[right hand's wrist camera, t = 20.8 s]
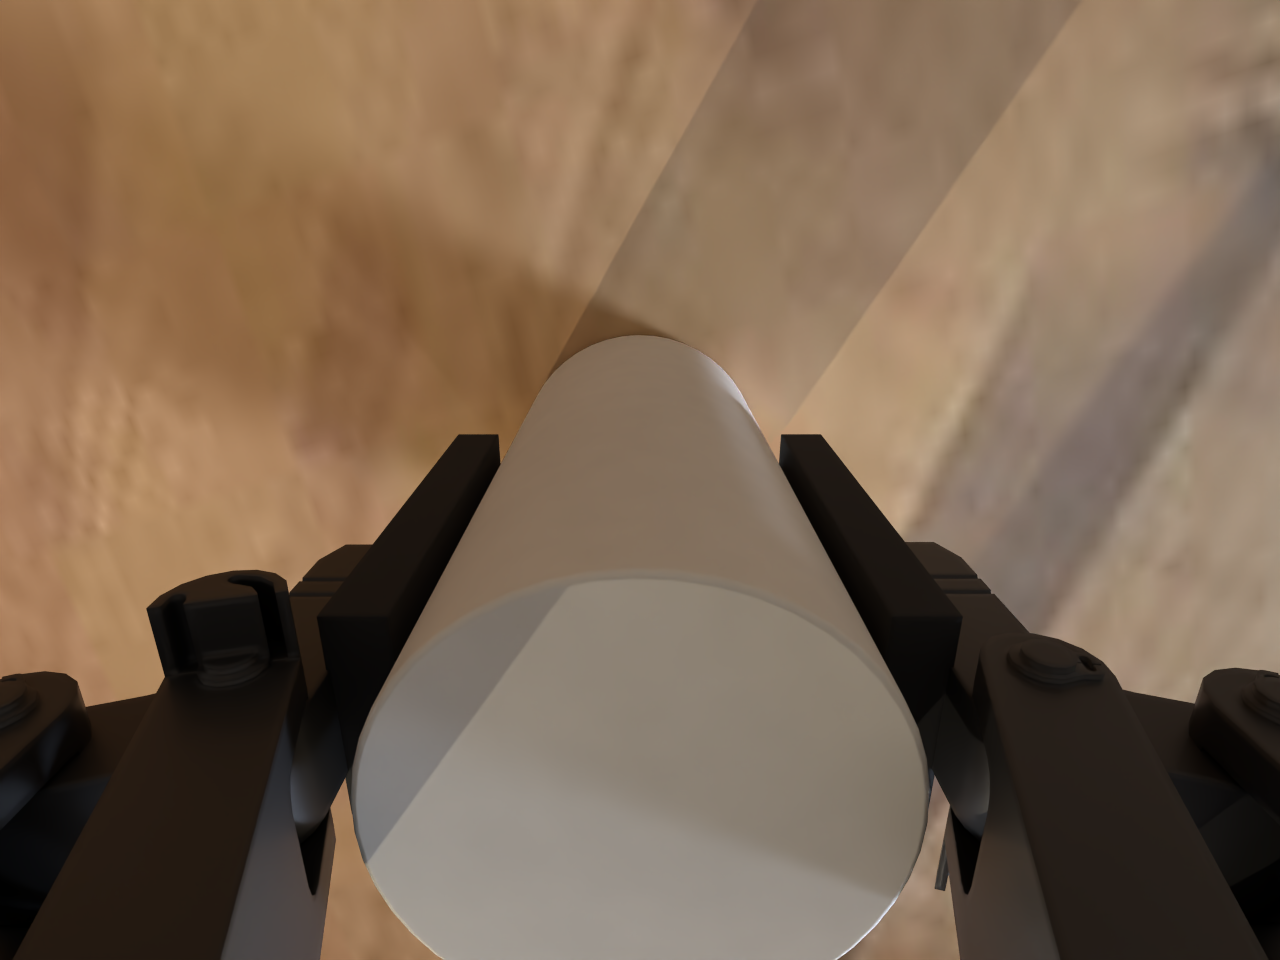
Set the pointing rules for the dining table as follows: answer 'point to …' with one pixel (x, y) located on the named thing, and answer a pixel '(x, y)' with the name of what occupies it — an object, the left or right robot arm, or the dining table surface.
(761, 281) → the dining table surface
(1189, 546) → the dining table surface
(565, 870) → the canister
